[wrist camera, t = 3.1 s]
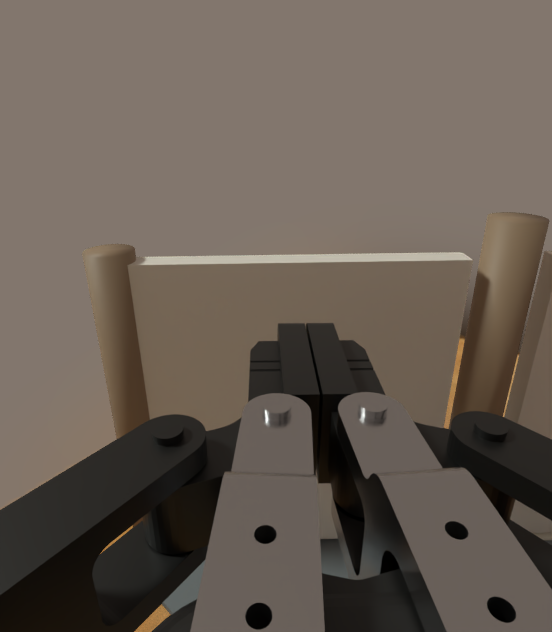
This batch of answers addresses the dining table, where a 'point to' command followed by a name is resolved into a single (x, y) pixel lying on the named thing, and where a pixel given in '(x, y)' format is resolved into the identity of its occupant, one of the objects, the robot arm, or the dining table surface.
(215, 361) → the fence panel
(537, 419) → the fence fixed
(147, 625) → the dining table surface
